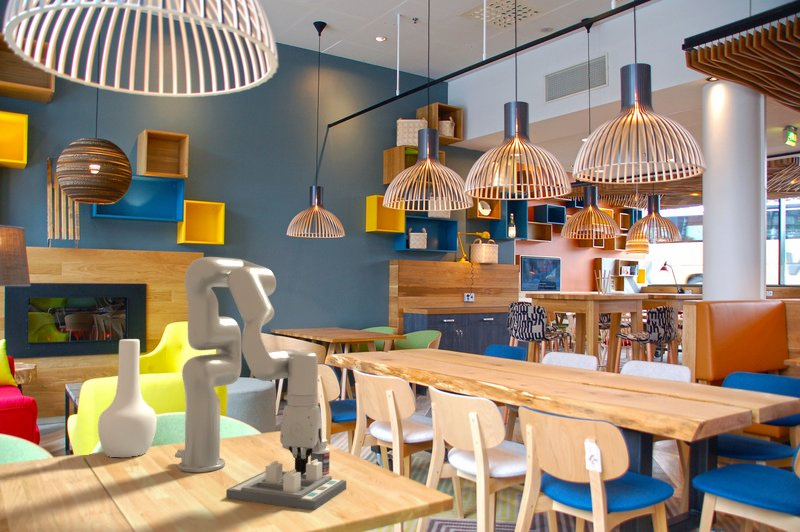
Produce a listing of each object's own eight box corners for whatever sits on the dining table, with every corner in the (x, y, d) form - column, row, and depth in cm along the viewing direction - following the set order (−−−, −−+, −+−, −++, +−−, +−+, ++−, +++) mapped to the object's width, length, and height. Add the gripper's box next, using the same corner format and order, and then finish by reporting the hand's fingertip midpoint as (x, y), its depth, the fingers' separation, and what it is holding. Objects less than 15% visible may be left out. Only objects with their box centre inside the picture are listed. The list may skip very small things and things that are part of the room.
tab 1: (265, 483, 157) (265, 463, 157) (271, 480, 160) (272, 460, 160) (275, 485, 156) (276, 464, 156) (282, 481, 159) (282, 461, 159)
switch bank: (226, 498, 153) (226, 486, 153) (264, 478, 169) (264, 468, 169) (314, 510, 145) (314, 497, 145) (346, 488, 160) (346, 477, 161)
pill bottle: (325, 475, 172) (326, 442, 172) (307, 474, 173) (307, 441, 173) (331, 470, 177) (332, 438, 177) (314, 469, 178) (314, 437, 178)
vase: (144, 444, 206) (146, 337, 208) (164, 454, 194) (166, 339, 196) (89, 453, 195) (92, 339, 197) (107, 463, 183) (110, 342, 184)
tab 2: (283, 493, 150) (283, 471, 150) (289, 489, 153) (289, 468, 153) (294, 495, 149) (294, 473, 149) (300, 491, 152) (300, 469, 152)
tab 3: (305, 482, 159) (306, 461, 159) (311, 478, 162) (311, 458, 162) (316, 483, 158) (316, 462, 158) (322, 480, 161) (322, 459, 161)
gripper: (269, 401, 161) (268, 473, 160) (321, 405, 156) (320, 480, 155) (284, 396, 168) (283, 466, 167) (335, 400, 163) (334, 472, 162)
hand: (301, 473), depth 161 cm, fingers closed
